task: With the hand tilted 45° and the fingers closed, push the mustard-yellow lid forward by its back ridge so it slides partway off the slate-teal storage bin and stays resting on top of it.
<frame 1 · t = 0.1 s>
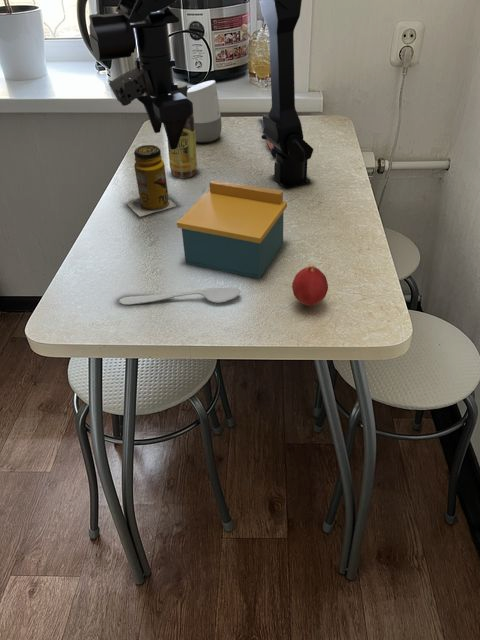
hand: (165, 140, 112), 15 cm above the table, tool pointing down, fingers open, 9 cm apart
onion: (309, 305, 97), on the table
storage bin: (235, 253, 109), on the table
condiment: (151, 205, 124), on the table
smart speaker: (204, 139, 150), on the table
spoon: (180, 300, 98), on the table
knife: (270, 138, 150), on the table
bin lid: (233, 216, 104), point 8 cm above the table, touching storage bin
sauce bottle: (185, 174, 135), on the table
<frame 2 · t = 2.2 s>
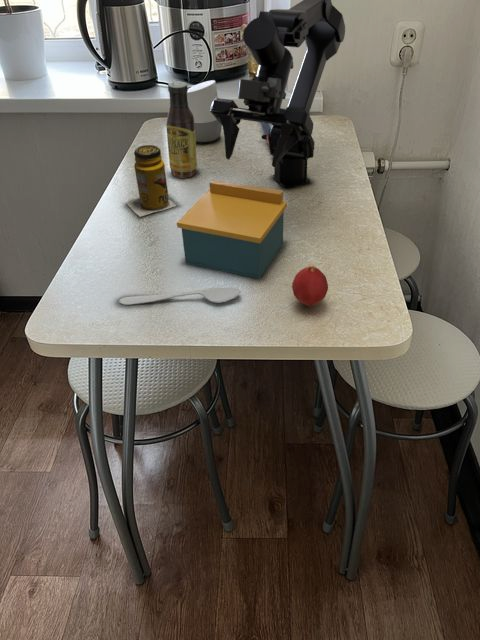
hand: (250, 162, 107), 13 cm above the table, tool tilted 45°, fingers open, 9 cm apart
nothing on the table moved.
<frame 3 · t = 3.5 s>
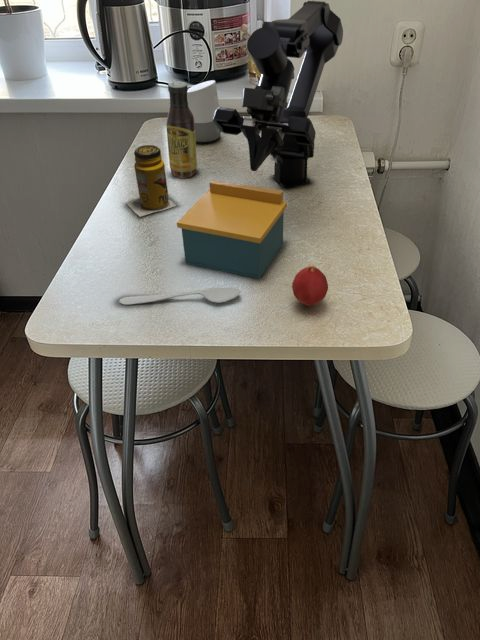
hand: (253, 170, 108), 12 cm above the table, tool tilted 45°, fingers closed
nothing on the table moved.
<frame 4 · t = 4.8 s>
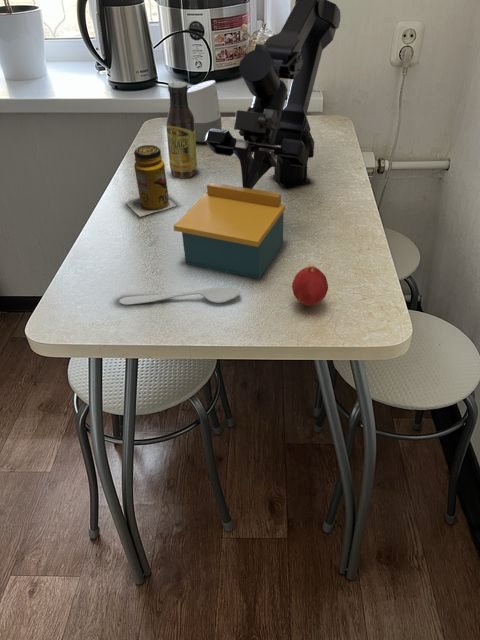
hand: (245, 192, 107), 10 cm above the table, tool tilted 45°, fingers closed, pressing on bin lid
bin lid: (231, 219, 103), point 8 cm above the table, touching gripper, storage bin
everything else where it was.
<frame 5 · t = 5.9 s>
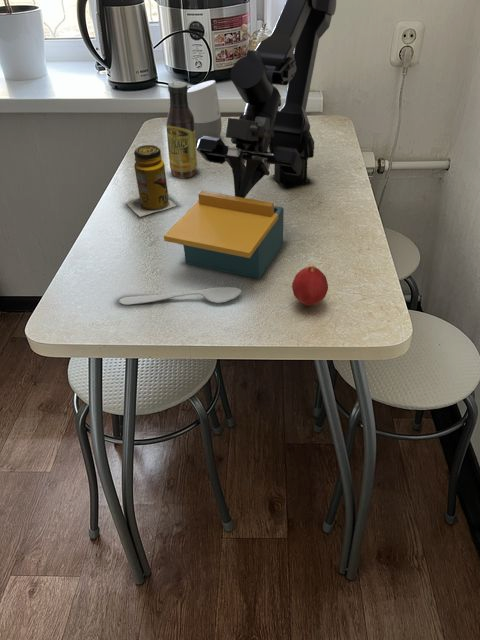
hand: (238, 201, 104), 10 cm above the table, tool tilted 45°, fingers closed, pressing on bin lid
bin lid: (222, 229, 101), point 8 cm above the table, touching gripper, storage bin
everything else where it was.
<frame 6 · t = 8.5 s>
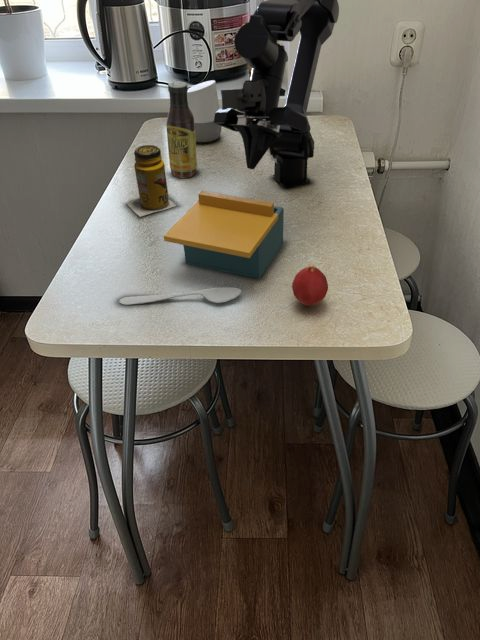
hand: (250, 168, 106), 13 cm above the table, tool tilted 35°, fingers closed
bin lid: (222, 229, 101), point 8 cm above the table, touching storage bin
everything else where it was.
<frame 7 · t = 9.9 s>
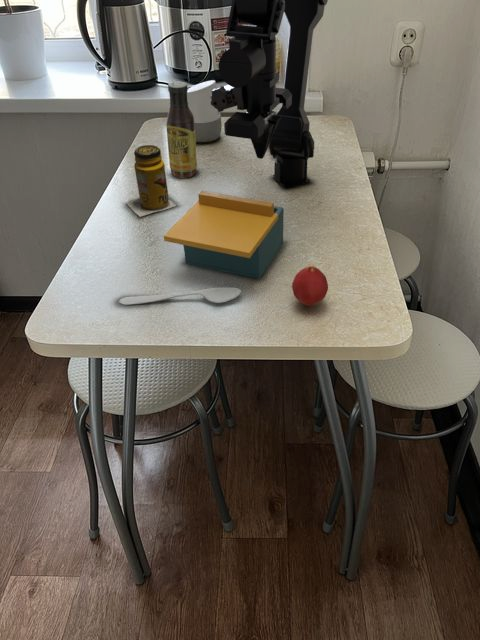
hand: (260, 157, 110), 13 cm above the table, tool pointing down, fingers closed
nothing on the table moved.
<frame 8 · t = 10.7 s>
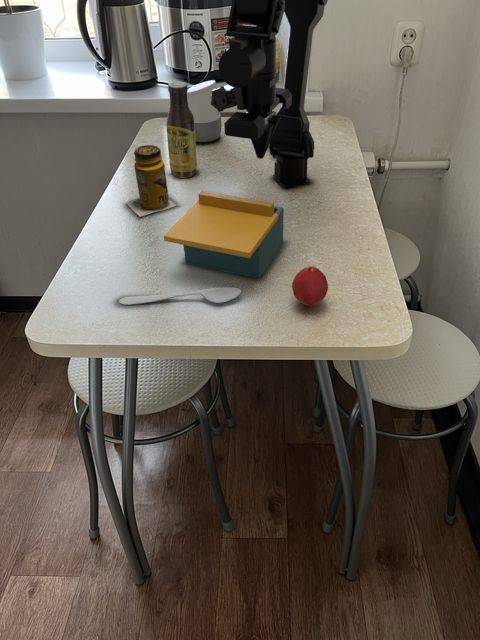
hand: (260, 157, 110), 13 cm above the table, tool pointing down, fingers closed
nothing on the table moved.
at the end: bin lid moved 4.8 cm from its start; bin lid point 7.6 cm above the table; bin lid tilted 0° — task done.
